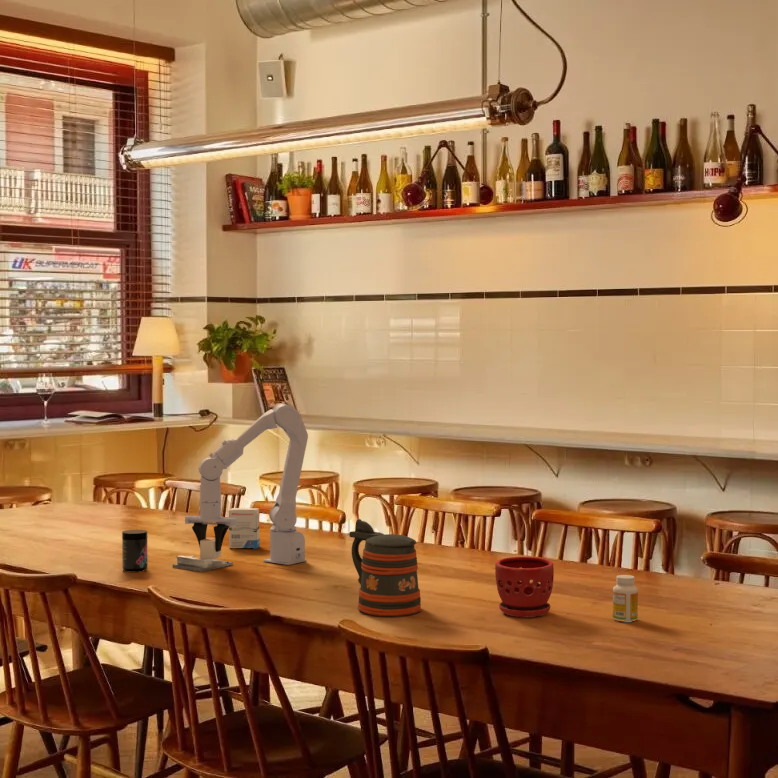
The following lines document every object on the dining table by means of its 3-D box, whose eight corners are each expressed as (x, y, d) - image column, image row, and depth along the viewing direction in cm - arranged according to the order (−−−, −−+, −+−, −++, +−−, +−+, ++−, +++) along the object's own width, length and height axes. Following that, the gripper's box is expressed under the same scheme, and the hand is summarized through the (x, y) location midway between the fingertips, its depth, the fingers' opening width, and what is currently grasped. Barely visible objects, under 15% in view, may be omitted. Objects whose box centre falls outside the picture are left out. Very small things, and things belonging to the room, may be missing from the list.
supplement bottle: (634, 617, 263) (634, 574, 263) (640, 622, 258) (640, 578, 258) (610, 617, 263) (610, 574, 263) (615, 622, 258) (616, 578, 258)
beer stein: (329, 609, 271) (329, 522, 270) (368, 598, 283) (368, 515, 282) (395, 620, 260) (396, 530, 259) (433, 608, 272) (433, 522, 271)
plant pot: (490, 607, 273) (491, 556, 272) (546, 607, 273) (547, 555, 273) (500, 621, 260) (500, 567, 259) (558, 620, 260) (559, 566, 260)
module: (221, 556, 327) (221, 537, 327) (213, 559, 322) (213, 540, 322) (207, 555, 328) (207, 537, 328) (200, 558, 323) (200, 540, 323)
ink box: (260, 546, 354) (260, 507, 354) (256, 549, 349) (256, 509, 349) (232, 546, 355) (232, 507, 354) (228, 548, 350) (228, 509, 350)
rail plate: (232, 565, 324) (232, 554, 324) (201, 571, 314) (201, 561, 314) (203, 560, 331) (203, 550, 330) (172, 567, 321) (172, 556, 321)
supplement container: (133, 573, 312) (132, 534, 312) (116, 570, 317) (116, 531, 316) (153, 569, 318) (152, 531, 317) (136, 566, 322) (136, 528, 322)
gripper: (240, 500, 326) (240, 549, 327) (192, 498, 330) (192, 546, 331) (230, 504, 319) (230, 553, 320) (181, 501, 323) (181, 551, 324)
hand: (210, 550), depth 325 cm, fingers closed on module, 4 cm apart
